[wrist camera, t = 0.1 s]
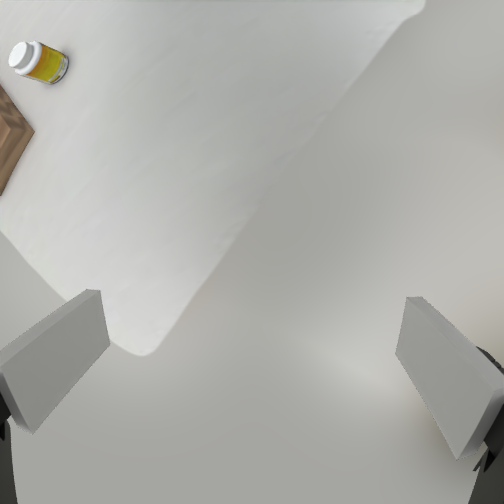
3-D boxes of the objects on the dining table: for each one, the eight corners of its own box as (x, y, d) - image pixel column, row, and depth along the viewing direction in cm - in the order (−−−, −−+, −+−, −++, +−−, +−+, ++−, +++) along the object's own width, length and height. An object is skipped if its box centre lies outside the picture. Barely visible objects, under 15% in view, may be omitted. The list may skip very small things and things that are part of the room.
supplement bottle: (73, 53, 35) (35, 34, 25) (62, 84, 36) (21, 71, 26) (50, 54, 35) (13, 38, 25) (40, 84, 36) (0, 73, 26)
